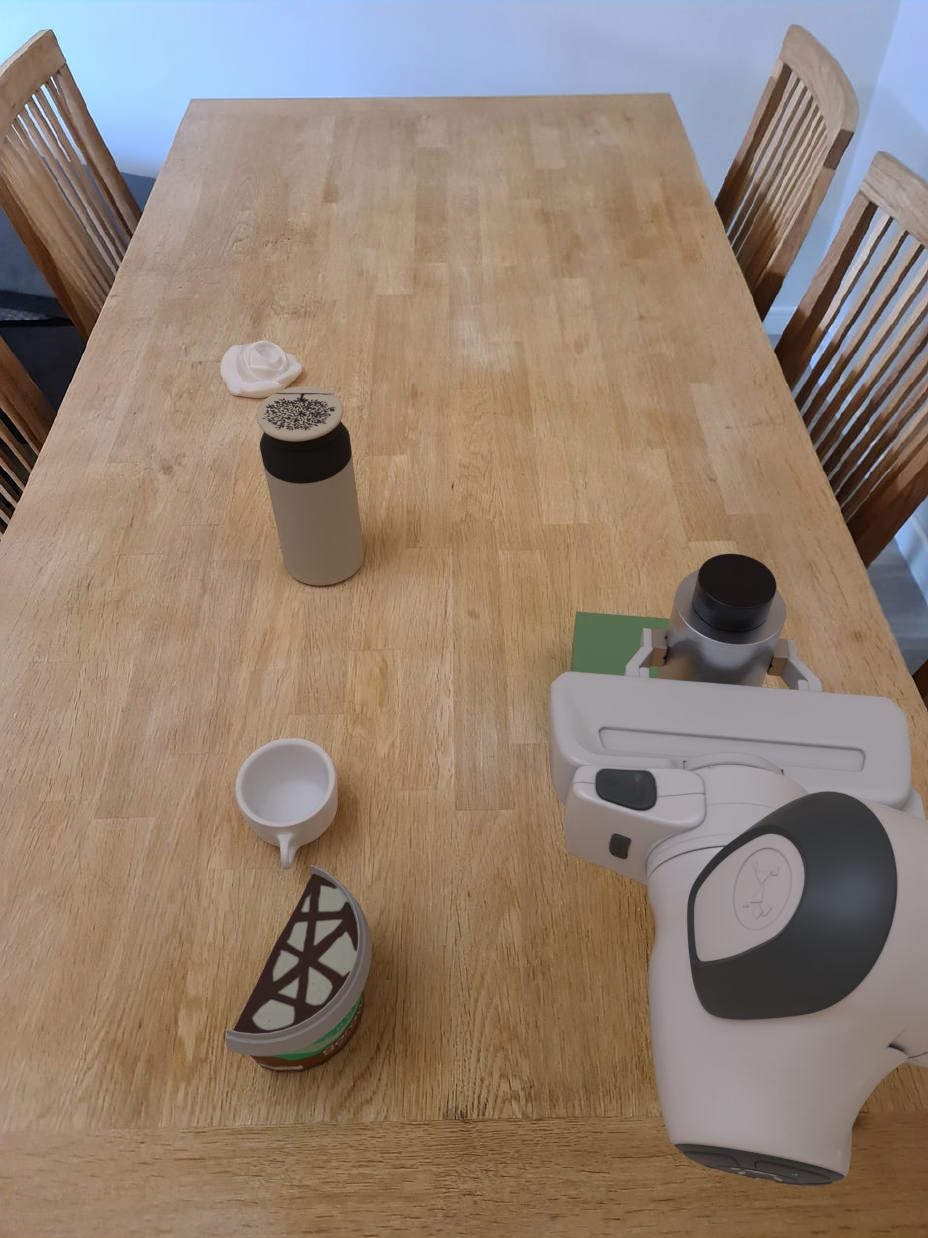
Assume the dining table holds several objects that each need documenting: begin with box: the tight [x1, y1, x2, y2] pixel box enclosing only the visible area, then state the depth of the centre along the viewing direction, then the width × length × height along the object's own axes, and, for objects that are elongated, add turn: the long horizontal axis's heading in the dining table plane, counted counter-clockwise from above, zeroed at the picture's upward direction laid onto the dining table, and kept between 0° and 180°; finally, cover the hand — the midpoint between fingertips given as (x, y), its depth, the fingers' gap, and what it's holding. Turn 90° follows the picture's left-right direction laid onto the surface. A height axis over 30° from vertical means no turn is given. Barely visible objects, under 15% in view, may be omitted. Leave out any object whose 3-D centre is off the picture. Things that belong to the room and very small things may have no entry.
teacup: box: [234, 737, 339, 871], centre depth 75 cm, size 10×8×5 cm
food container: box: [224, 864, 373, 1073], centre depth 63 cm, size 12×6×10 cm, turn 160°
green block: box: [570, 611, 670, 678], centre depth 83 cm, size 10×10×5 cm
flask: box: [657, 553, 787, 687], centre depth 60 cm, size 6×6×14 cm
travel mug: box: [256, 385, 365, 586], centre depth 90 cm, size 8×8×18 cm
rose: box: [219, 339, 303, 399], centre depth 116 cm, size 10×4×10 cm
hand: (715, 639), depth 61 cm, fingers closed on flask, 6 cm apart
